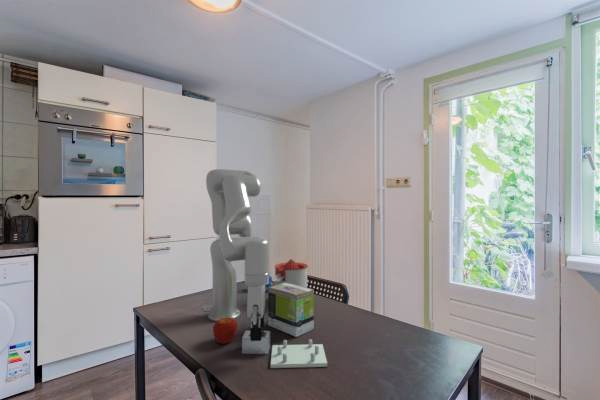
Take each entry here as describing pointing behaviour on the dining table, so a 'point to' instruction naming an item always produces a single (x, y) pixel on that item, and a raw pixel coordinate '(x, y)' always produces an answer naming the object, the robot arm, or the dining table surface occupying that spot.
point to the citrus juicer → (291, 273)
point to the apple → (225, 330)
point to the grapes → (268, 283)
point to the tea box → (291, 308)
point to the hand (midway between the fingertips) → (257, 333)
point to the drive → (256, 343)
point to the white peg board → (298, 355)
